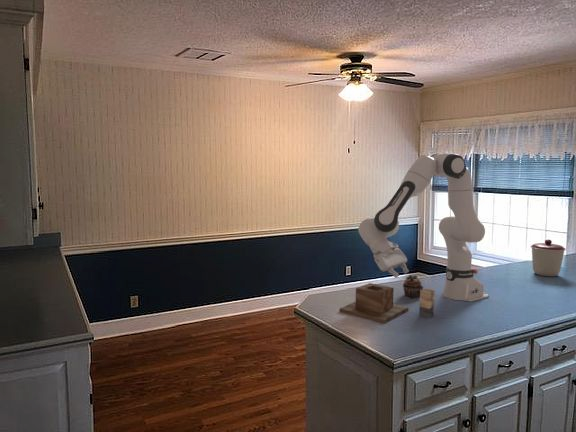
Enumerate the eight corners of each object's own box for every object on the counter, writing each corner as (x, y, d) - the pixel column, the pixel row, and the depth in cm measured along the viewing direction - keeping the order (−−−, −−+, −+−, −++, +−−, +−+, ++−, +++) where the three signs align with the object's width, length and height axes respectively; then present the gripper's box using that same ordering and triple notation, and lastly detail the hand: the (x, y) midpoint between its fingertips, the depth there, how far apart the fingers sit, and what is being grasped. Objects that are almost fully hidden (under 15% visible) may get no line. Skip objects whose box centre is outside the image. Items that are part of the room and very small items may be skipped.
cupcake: (422, 299, 222) (423, 279, 221) (401, 297, 226) (402, 277, 224) (423, 294, 231) (424, 274, 230) (403, 292, 235) (404, 273, 233)
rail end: (423, 312, 203) (424, 288, 201) (433, 315, 200) (434, 290, 199) (419, 315, 199) (420, 290, 198) (429, 317, 197) (430, 292, 195)
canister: (564, 273, 277) (566, 238, 274) (563, 280, 262) (566, 243, 259) (530, 269, 287) (532, 236, 284) (527, 275, 271) (529, 240, 269)
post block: (365, 300, 220) (365, 279, 219) (408, 310, 206) (409, 287, 205) (339, 311, 203) (339, 288, 202) (384, 323, 189) (385, 298, 188)
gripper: (376, 249, 201) (396, 274, 196) (398, 243, 216) (417, 266, 211) (367, 257, 204) (386, 283, 199) (389, 251, 220) (407, 274, 215)
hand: (402, 274), depth 205 cm, fingers open, 8 cm apart
